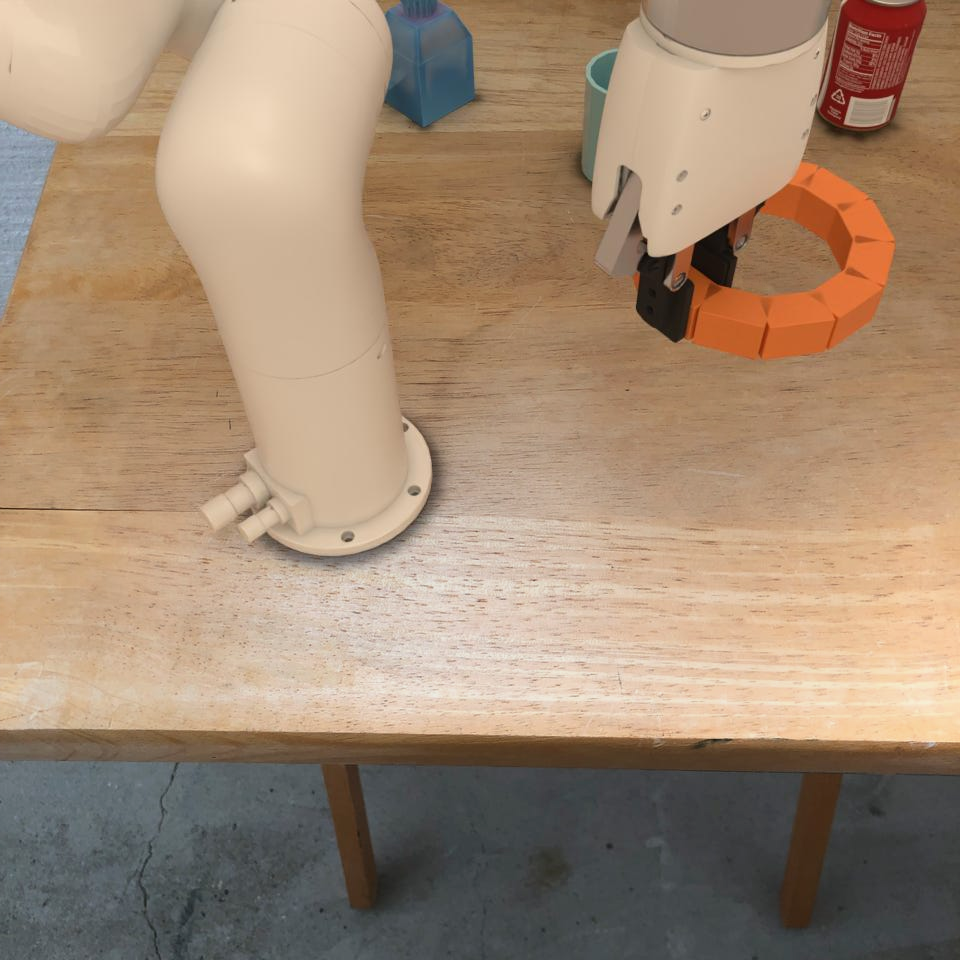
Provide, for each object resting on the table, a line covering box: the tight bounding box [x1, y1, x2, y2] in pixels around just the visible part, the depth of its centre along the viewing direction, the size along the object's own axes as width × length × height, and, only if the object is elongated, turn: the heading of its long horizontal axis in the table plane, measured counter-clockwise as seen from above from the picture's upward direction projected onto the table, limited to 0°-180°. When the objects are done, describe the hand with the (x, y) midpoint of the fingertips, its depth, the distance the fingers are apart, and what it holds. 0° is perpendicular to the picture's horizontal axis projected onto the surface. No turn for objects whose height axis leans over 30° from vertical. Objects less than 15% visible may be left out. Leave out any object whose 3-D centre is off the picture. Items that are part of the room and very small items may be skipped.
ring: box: [631, 161, 896, 361], centre depth 60 cm, size 14×14×2 cm
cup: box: [580, 47, 619, 184], centre depth 91 cm, size 7×7×9 cm
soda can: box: [816, 0, 928, 132], centre depth 93 cm, size 7×7×12 cm
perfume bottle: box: [384, 0, 476, 128], centre depth 96 cm, size 6×6×12 cm
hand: (680, 310), depth 59 cm, fingers closed on ring, 2 cm apart
